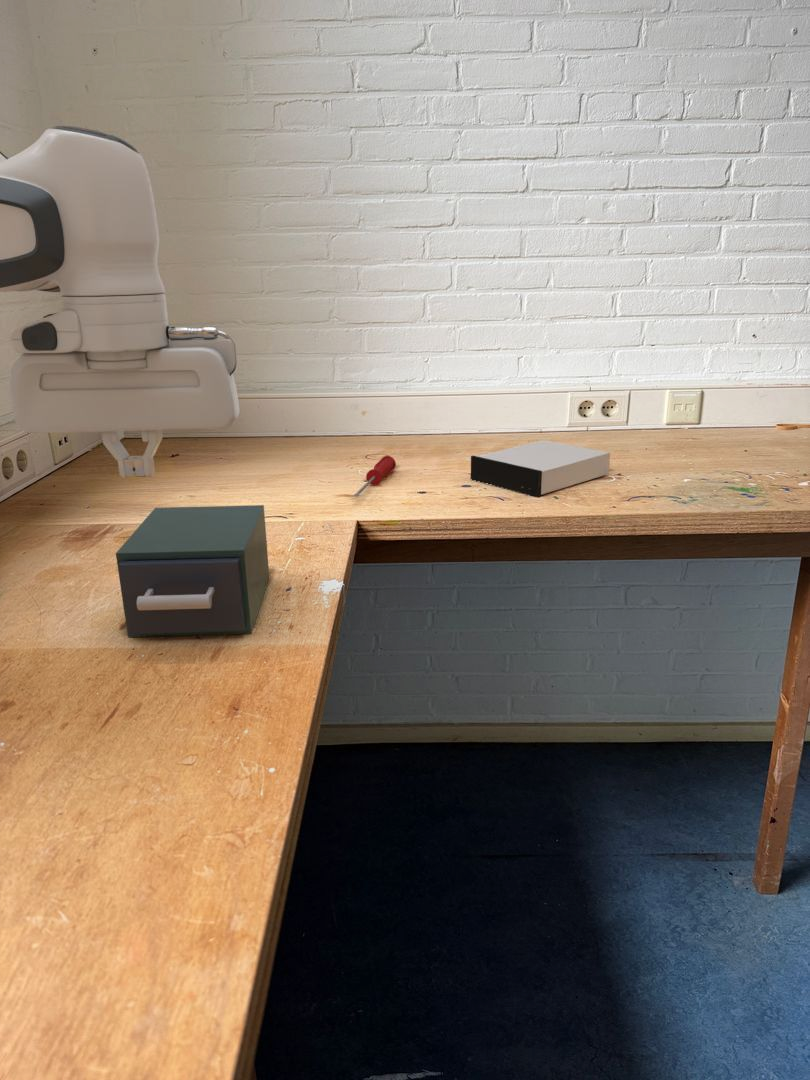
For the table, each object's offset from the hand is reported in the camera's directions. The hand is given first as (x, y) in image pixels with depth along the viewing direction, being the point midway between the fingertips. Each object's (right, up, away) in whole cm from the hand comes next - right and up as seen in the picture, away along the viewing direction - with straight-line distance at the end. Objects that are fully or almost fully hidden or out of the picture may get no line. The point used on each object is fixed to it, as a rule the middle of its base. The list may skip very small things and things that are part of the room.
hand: (137, 475), depth 77 cm
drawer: (0, -15, +23) cm, 28 cm away
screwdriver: (+20, +4, +80) cm, 83 cm away
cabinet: (-1, -15, +27) cm, 31 cm away
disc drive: (+53, +6, +85) cm, 100 cm away
